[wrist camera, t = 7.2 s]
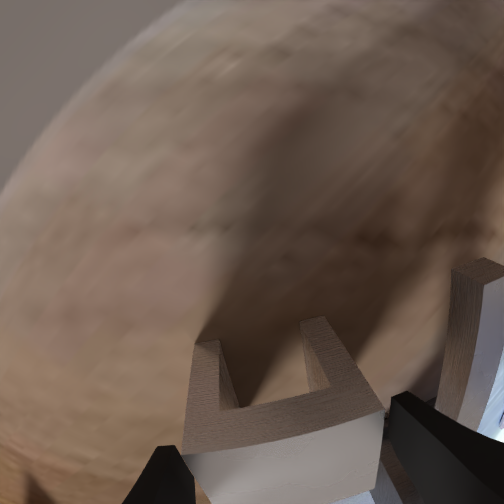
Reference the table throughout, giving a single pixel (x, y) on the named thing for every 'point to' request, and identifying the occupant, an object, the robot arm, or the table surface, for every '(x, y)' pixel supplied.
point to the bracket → (284, 430)
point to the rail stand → (457, 367)
